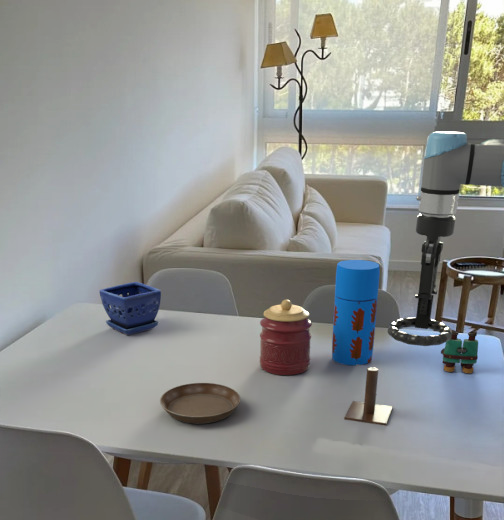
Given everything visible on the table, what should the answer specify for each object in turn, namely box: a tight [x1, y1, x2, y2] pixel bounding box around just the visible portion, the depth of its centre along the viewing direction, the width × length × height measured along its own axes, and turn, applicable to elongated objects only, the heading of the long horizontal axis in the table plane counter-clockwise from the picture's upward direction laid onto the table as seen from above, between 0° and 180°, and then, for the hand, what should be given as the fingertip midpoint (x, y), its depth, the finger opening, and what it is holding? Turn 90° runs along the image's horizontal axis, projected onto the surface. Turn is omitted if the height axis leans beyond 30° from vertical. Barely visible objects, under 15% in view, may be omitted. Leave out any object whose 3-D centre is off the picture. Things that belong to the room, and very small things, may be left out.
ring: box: [387, 317, 453, 347], centre depth 148 cm, size 13×13×2 cm
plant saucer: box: [159, 382, 241, 425], centre depth 157 cm, size 18×18×3 cm
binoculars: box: [440, 329, 479, 374], centre depth 180 cm, size 9×11×10 cm
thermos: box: [331, 259, 381, 366], centre depth 182 cm, size 11×11×25 cm
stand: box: [343, 366, 394, 426], centre depth 152 cm, size 9×9×12 cm
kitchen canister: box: [259, 299, 313, 376], centre depth 178 cm, size 13×13×18 cm
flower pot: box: [99, 281, 162, 336], centre depth 206 cm, size 13×13×12 cm
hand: (422, 325), depth 153 cm, fingers closed on ring, 2 cm apart
